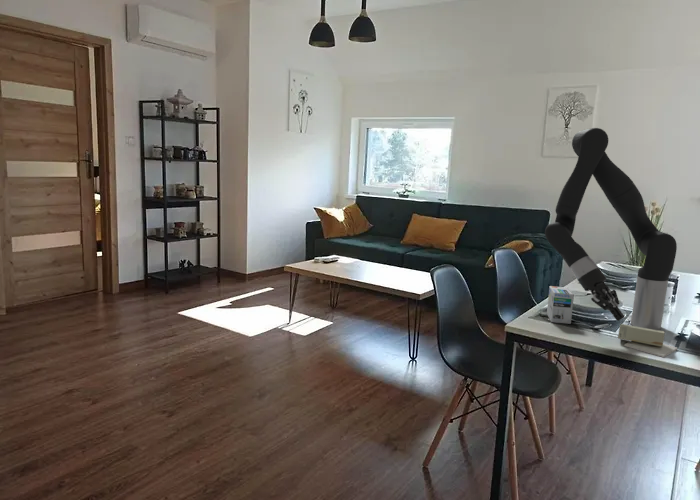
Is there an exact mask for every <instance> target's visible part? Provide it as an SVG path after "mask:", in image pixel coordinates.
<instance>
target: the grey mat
mask: <svg viewBox="0 0 700 500" xmlns="http://www.w3.org/2000/svg"><path fill="white" fill-rule="evenodd" d="M624 347H627V348H630V349H633V350H637V351H640V352H644V353H648V354H651V355H653V356H657V357H662V358H665V357H667V356H668V355H670V354H672V353H674V352H676V351H678V347H676V346H672V345H669V344H665V343H663V346H662V347H660V346H655V345H650V344H645V343H640V342H635V341H629V342H627V343H624Z"/></svg>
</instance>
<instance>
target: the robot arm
mask: <svg viewBox="0 0 700 500" xmlns="http://www.w3.org/2000/svg"><path fill="white" fill-rule="evenodd" d="M608 145H609V135H608V134H607V132H606V131H605V130H604V129H602V128H600V127H599V128H598V127H592V128H587V129H585V128H584V129H582V130H580V131H577V132H576V133H574V135H573V137H572V142H571V147H572V149H573V152H574V153H575V154H576V156H577V162H576V164H575V166H574V168H573V171H572V173H571V174H570V176H569V177H568V179H567V181H566V182H565V184H564V186H563V187H562V189H561V192H560V194H559V197H558V201H557V203H556V206H555V209H554V210H555V211H554V212H555V214H556V216H555V221H554V222H551V223H548V224H547V225H546V227H545V229H544V237H545V238H546V240H547V242H548V243H549V245H551V246H552V248H554V250H555V251H556V252H557V253H558V254H559V255H560V257H561V258H562V259H563V261H564V262H565V263H566V265H567V266H568V268H569V269H570V271H571V272H572V274H573V276H574V277H575V279H576V280H577V282H578V283H579V284H580V286H581V287H582V289H583V290H584V291H585V292H590V293H591V295H592V296H593V297H591V301H592V302H593V303H594V304H596V305H597V306H599V307H600V308H601V309H603V311H608V312H610V313H611V314H612V316H613V317H614V319H615V320H616V321H621V320H623V319H624V318H625V315H624V314H623V313H622V311H621V310H620V308H619V305H620V300H619V297H618V294H617V291H616V290H615V289H612V290H611V288H609V286H608V285H607V284H606V283H605V282H606V281H607V277H606V276H605V274H604V273H603V272H602V270H601V269H600V267H599V266H598V265H597V264H596V262H595V261H594V260H593V259H592V258H591V257H590V256H589V254H588V253H587V252H586V250H585V249H584V247H582V245H581V244H579V243H578V242H577V241H575V240H574V238H573V237H572V236H573V233H574V230H575V225H576V220H577V215H578V212H579V209H580V207H581V204H582V201H583V199H584V196H585V193H586V190H587V187H588V186H589V183H590V180H591V179H592V176H593V177H594V179H595V181H596V183H597V184H598V185H599V187H600V189H601V190H602V192H603V194H604V196H605V197H606V199H607V200H608V202H609V204H611V206H612V208H613V209H614V210H615V212H616V214H618V216H619V217H620V219H621V220H622V221H623V223H624V224H625V226H626V227H627V228H628V230H629V232H630V234H631V236H632V238H633V240H634V241H635V244H636V246H637V248H638V250H639V252H641V253H642V254H643V256H645V261H644V264H643V266H642V267H639V268H638V271H637V277H636V286H635V290H634V299H633V307H632V312H631V320H630V325H631V326H636V327H642V328H648V329H653V330H659V331H661V329H662V324H663V317H664V310H665V303H666V298H667V297H666V296H667V291H668V286H669V285H668V284H669V280H670V279H669V278H670V275H671V273H672V272H673V270H674V266H675V265H674V264H675V260H676V255H677V249H678V247H677V246H678V245H677V241H676V238H675V237H673V236H672V235H671V234H669V233H666V232H664V231H663V232H662V231H660V230H659V229H658V228H657V227H656V225H655V224H654V223H653V222H652V220H651V219H650V217H649V216H648V214H647V210H646V207H645V202H644V198H643V195H642V194H641V192H640V190H639V189H638V187H637V186H636V184H635V183H634V181H633V180H632V179H631V177H629V175H627V174H626V173H625V171H623V170H622V169H621V168H620V167H618V166H617V165H616V164H615V163H614V162H613V161H612V160H611V159H610V158H609V156H608V154H607V153H606V149H607V147H608Z"/></svg>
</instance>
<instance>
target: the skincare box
mask: <svg viewBox="0 0 700 500" xmlns="http://www.w3.org/2000/svg"><path fill="white" fill-rule="evenodd" d="M665 333H666V332H665V331H663V330H653V329H648V328H642V327H636V326H633V325H631V324H630V325H629V324H625V323H621V324H620V325H619V329H618V336H617V338H618V339H620V340H625V341H629V342H631V341H635V342H640V343H645V344H650V345H655V346H660V347H662V346H663V344H664V342H665V341H664V340H665Z"/></svg>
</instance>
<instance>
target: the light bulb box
mask: <svg viewBox="0 0 700 500" xmlns="http://www.w3.org/2000/svg"><path fill="white" fill-rule="evenodd" d="M548 287H549V288H548V299H547V310H546V315H547V317H548V319H549V320H550V322H551V323H557V324H569V325H571V323H572V317H573V316H572V315H573V307H574V306H573V305H574V298H575V294H574V293H573V292H572V291H571V289H570V288H569V287H565V286H563V287H562V286H555V285H554V286H553V285H550V286H548Z"/></svg>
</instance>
